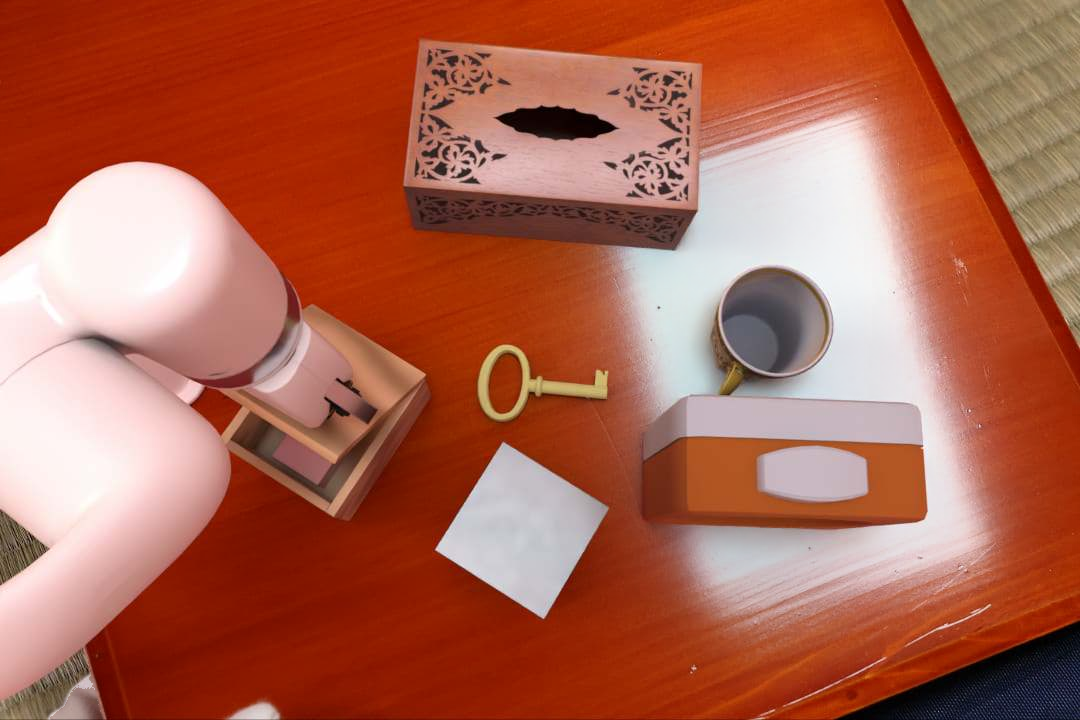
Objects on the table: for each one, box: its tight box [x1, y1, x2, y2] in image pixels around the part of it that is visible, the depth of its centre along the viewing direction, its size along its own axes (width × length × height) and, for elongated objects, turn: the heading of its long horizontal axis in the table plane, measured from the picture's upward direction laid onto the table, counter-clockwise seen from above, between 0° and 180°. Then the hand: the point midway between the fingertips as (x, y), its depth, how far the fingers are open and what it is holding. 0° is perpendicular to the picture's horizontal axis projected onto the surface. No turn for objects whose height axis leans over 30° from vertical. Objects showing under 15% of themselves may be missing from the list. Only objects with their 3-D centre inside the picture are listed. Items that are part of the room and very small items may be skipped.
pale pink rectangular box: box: [272, 434, 349, 488], centre depth 77 cm, size 7×5×3 cm
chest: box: [220, 378, 433, 522], centre depth 76 cm, size 14×12×8 cm
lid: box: [216, 303, 427, 464], centre depth 66 cm, size 14×12×5 cm
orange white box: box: [642, 394, 929, 531], centre depth 71 cm, size 18×9×21 cm, turn 88°
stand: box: [434, 440, 611, 621], centre depth 66 cm, size 8×8×25 cm
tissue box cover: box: [402, 37, 703, 251], centre depth 82 cm, size 26×14×10 cm, turn 86°
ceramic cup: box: [709, 264, 834, 396], centre depth 78 cm, size 13×10×10 cm
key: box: [477, 344, 609, 422], centre depth 81 cm, size 7×12×2 cm, turn 102°
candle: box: [125, 354, 206, 406], centre depth 68 cm, size 7×7×25 cm
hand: (304, 378), depth 63 cm, fingers closed on lid, 5 cm apart
